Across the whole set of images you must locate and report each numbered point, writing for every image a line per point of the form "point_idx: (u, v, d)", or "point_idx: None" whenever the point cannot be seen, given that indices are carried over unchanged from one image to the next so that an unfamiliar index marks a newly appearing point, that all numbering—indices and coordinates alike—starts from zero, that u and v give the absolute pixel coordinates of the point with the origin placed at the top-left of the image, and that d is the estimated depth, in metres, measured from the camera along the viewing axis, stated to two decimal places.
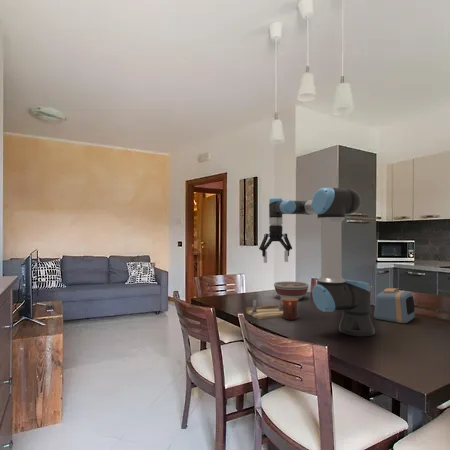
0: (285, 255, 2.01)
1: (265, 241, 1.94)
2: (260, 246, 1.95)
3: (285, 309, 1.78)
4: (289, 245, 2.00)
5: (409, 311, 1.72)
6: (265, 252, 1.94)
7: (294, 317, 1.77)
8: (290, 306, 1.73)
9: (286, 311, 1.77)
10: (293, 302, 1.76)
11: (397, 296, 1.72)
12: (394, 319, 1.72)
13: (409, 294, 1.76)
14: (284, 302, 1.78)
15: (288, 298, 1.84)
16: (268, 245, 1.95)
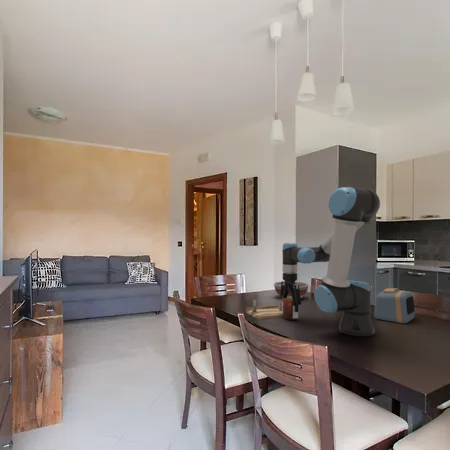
0: None
1: (281, 289, 1.85)
2: None
3: (285, 309, 1.78)
4: (295, 299, 1.72)
5: (409, 311, 1.72)
6: (282, 302, 1.84)
7: None
8: (290, 306, 1.73)
9: (286, 311, 1.77)
10: None
11: (397, 296, 1.72)
12: (394, 319, 1.72)
13: (409, 294, 1.76)
14: (284, 302, 1.78)
15: (288, 298, 1.84)
16: (283, 294, 1.83)
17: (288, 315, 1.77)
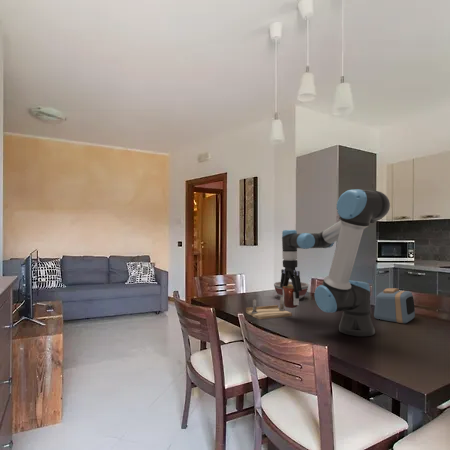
0: None
1: (281, 278, 1.84)
2: (283, 283, 1.86)
3: (286, 297, 1.77)
4: (296, 286, 1.72)
5: (409, 311, 1.72)
6: None
7: (294, 305, 1.76)
8: (290, 294, 1.72)
9: (286, 299, 1.77)
10: None
11: (397, 296, 1.72)
12: (394, 319, 1.72)
13: (409, 294, 1.76)
14: (285, 290, 1.77)
15: (289, 286, 1.83)
16: (284, 282, 1.82)
17: (288, 303, 1.76)
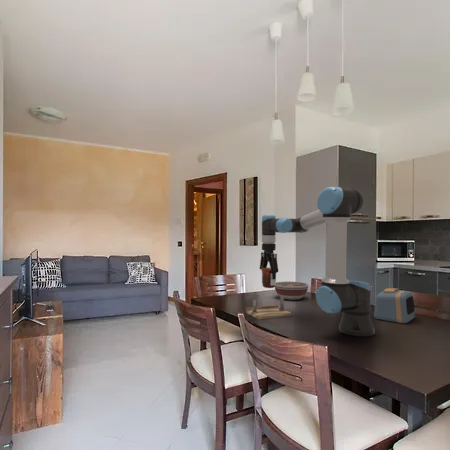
0: None
1: (261, 260, 1.96)
2: None
3: (264, 278, 1.89)
4: (273, 267, 1.83)
5: (409, 311, 1.72)
6: None
7: (272, 285, 1.88)
8: (267, 274, 1.84)
9: (264, 279, 1.89)
10: None
11: (397, 296, 1.72)
12: (394, 319, 1.72)
13: (409, 294, 1.76)
14: (263, 271, 1.89)
15: (268, 268, 1.95)
16: (263, 264, 1.94)
17: (266, 283, 1.88)
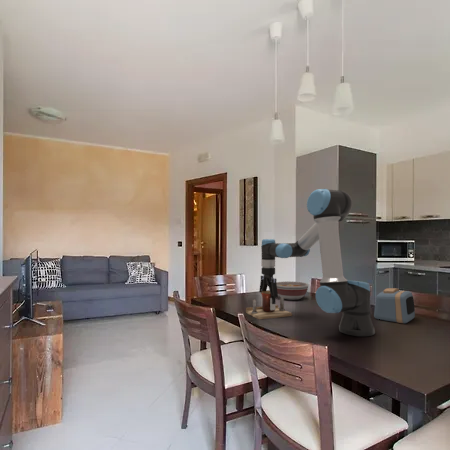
0: None
1: (260, 283, 1.96)
2: (262, 288, 1.98)
3: (263, 302, 1.89)
4: (272, 292, 1.83)
5: (409, 311, 1.72)
6: None
7: None
8: (267, 299, 1.84)
9: (264, 303, 1.88)
10: None
11: (397, 296, 1.72)
12: (394, 319, 1.72)
13: (409, 294, 1.76)
14: (262, 295, 1.89)
15: (267, 291, 1.95)
16: (262, 288, 1.94)
17: (266, 307, 1.88)
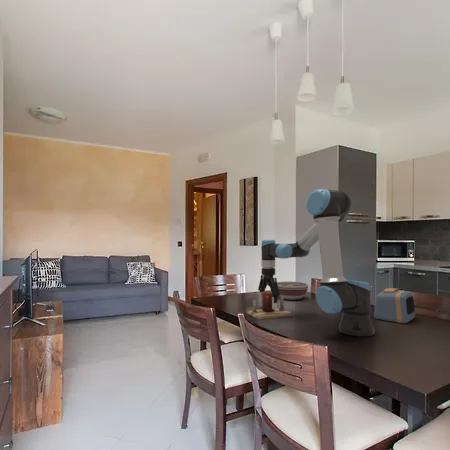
0: None
1: (260, 282, 1.96)
2: (261, 287, 1.99)
3: (263, 302, 1.89)
4: (274, 291, 1.82)
5: (409, 311, 1.72)
6: (260, 293, 1.96)
7: (272, 309, 1.88)
8: (267, 299, 1.84)
9: (264, 303, 1.89)
10: (270, 295, 1.87)
11: (397, 296, 1.72)
12: (394, 319, 1.72)
13: (409, 294, 1.76)
14: (262, 295, 1.89)
15: (267, 292, 1.95)
16: (261, 287, 1.95)
17: (266, 307, 1.88)
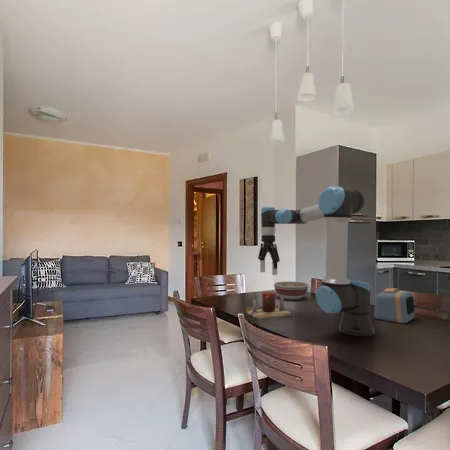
0: None
1: (260, 251, 1.97)
2: (261, 255, 1.99)
3: (263, 302, 1.89)
4: (274, 257, 1.82)
5: (409, 311, 1.72)
6: None
7: (272, 309, 1.88)
8: (267, 299, 1.84)
9: (264, 303, 1.89)
10: (270, 295, 1.87)
11: (397, 296, 1.72)
12: (394, 319, 1.72)
13: (409, 294, 1.76)
14: (262, 295, 1.89)
15: (267, 292, 1.95)
16: (261, 255, 1.95)
17: (266, 307, 1.88)
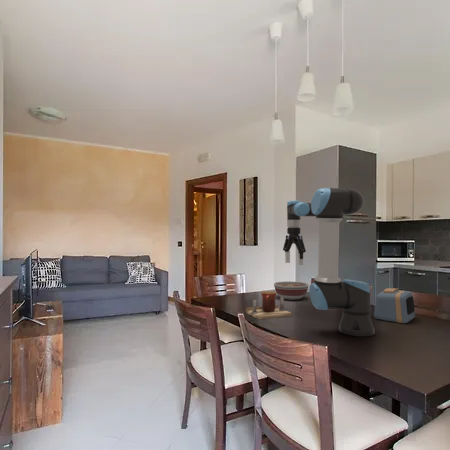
0: None
1: (285, 242, 2.07)
2: (286, 247, 2.10)
3: (263, 302, 1.89)
4: (300, 248, 1.93)
5: (409, 311, 1.72)
6: None
7: (272, 309, 1.88)
8: (267, 299, 1.84)
9: (264, 303, 1.89)
10: (270, 295, 1.87)
11: (397, 296, 1.72)
12: (394, 319, 1.72)
13: (409, 294, 1.76)
14: (262, 295, 1.89)
15: (267, 292, 1.95)
16: (287, 246, 2.06)
17: (266, 307, 1.88)
